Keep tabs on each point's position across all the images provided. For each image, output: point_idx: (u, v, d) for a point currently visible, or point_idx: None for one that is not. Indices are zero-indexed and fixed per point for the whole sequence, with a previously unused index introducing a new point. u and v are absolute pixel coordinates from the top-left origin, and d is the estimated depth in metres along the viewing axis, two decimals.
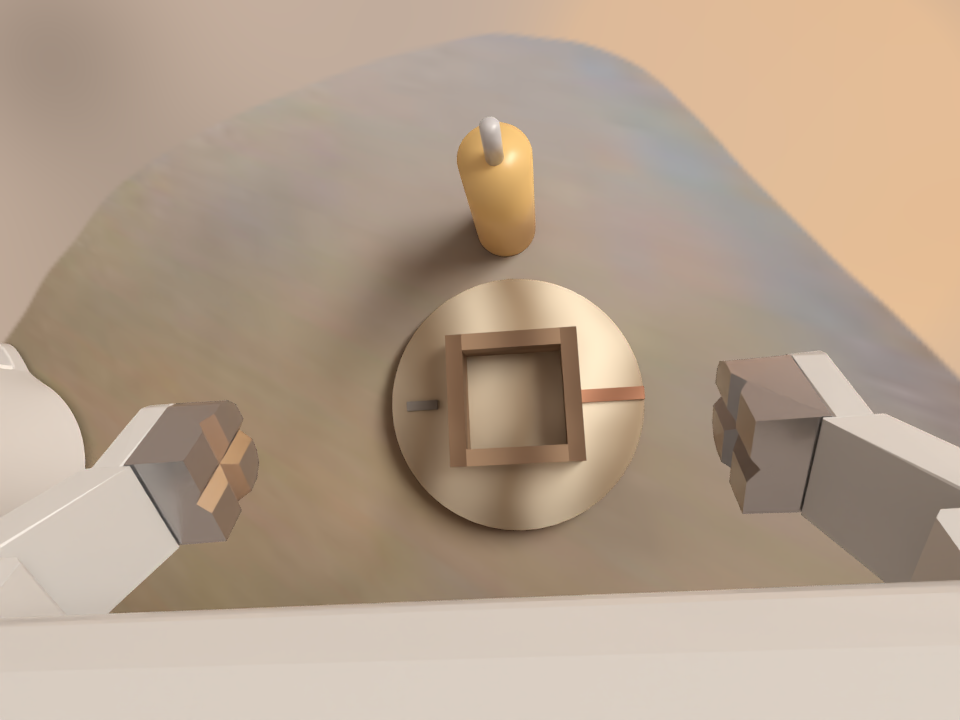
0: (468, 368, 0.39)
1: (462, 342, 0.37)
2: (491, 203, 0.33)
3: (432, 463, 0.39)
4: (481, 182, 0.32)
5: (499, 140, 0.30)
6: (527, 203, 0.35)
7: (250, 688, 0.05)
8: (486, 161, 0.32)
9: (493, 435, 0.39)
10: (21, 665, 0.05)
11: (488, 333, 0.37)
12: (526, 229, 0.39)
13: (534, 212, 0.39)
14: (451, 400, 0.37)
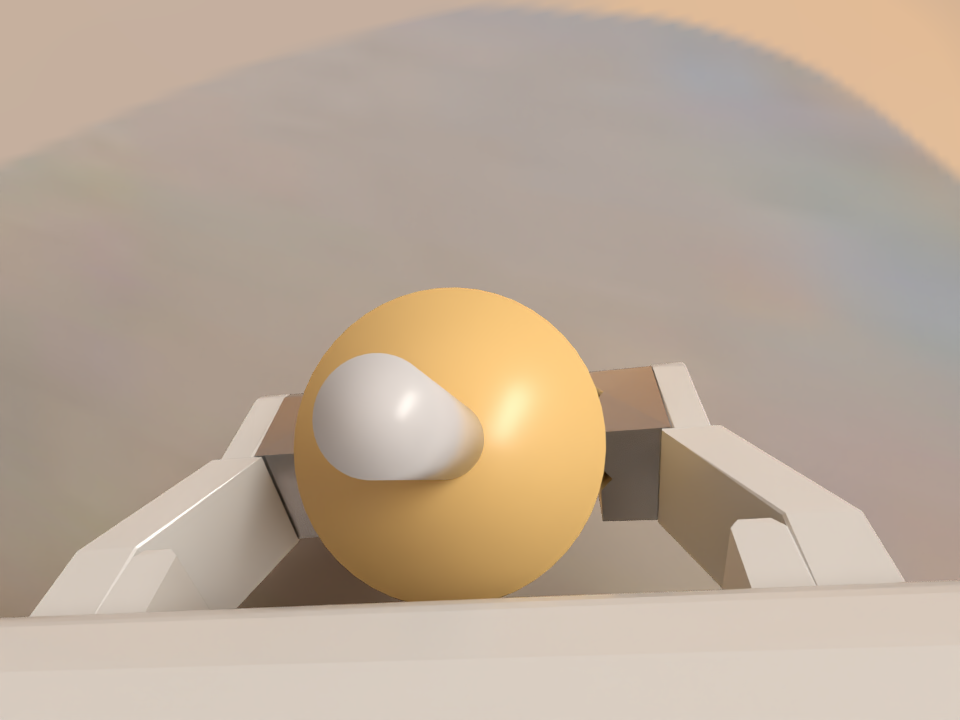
0: None
1: None
2: None
3: None
4: (390, 554, 0.08)
5: (447, 453, 0.06)
6: None
7: (250, 688, 0.05)
8: None
9: None
10: (21, 666, 0.05)
11: None
12: None
13: None
14: None
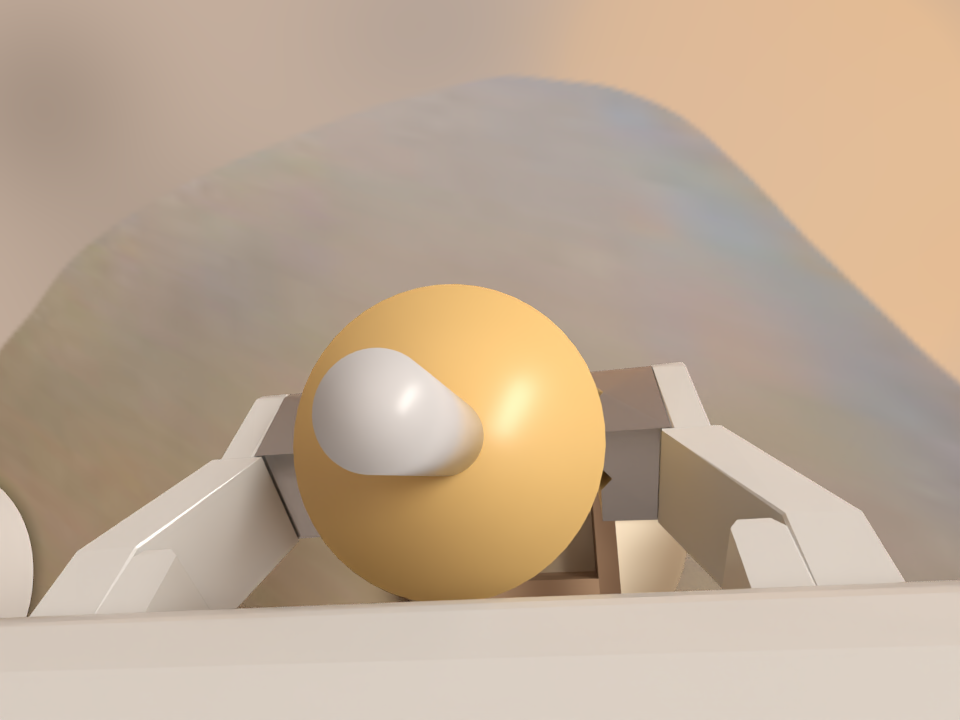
0: None
1: None
2: None
3: None
4: (389, 551, 0.08)
5: (446, 448, 0.06)
6: None
7: (250, 688, 0.05)
8: None
9: None
10: (20, 666, 0.05)
11: None
12: None
13: None
14: None
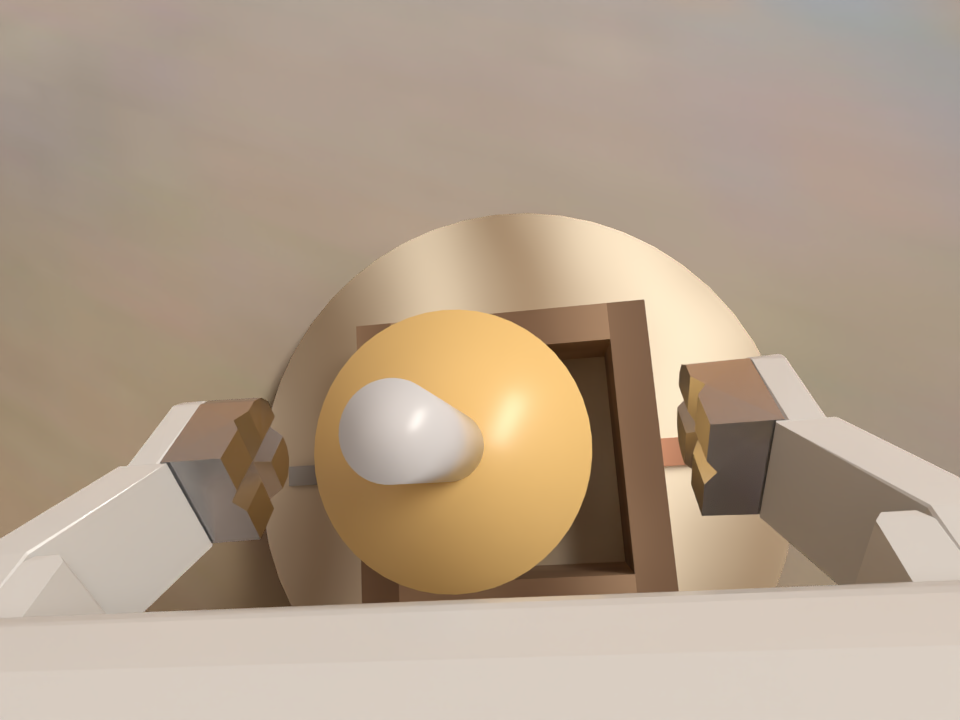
0: None
1: None
2: None
3: (339, 598, 0.18)
4: (400, 548, 0.08)
5: (451, 460, 0.06)
6: None
7: (250, 688, 0.05)
8: None
9: None
10: (20, 665, 0.05)
11: None
12: None
13: None
14: None
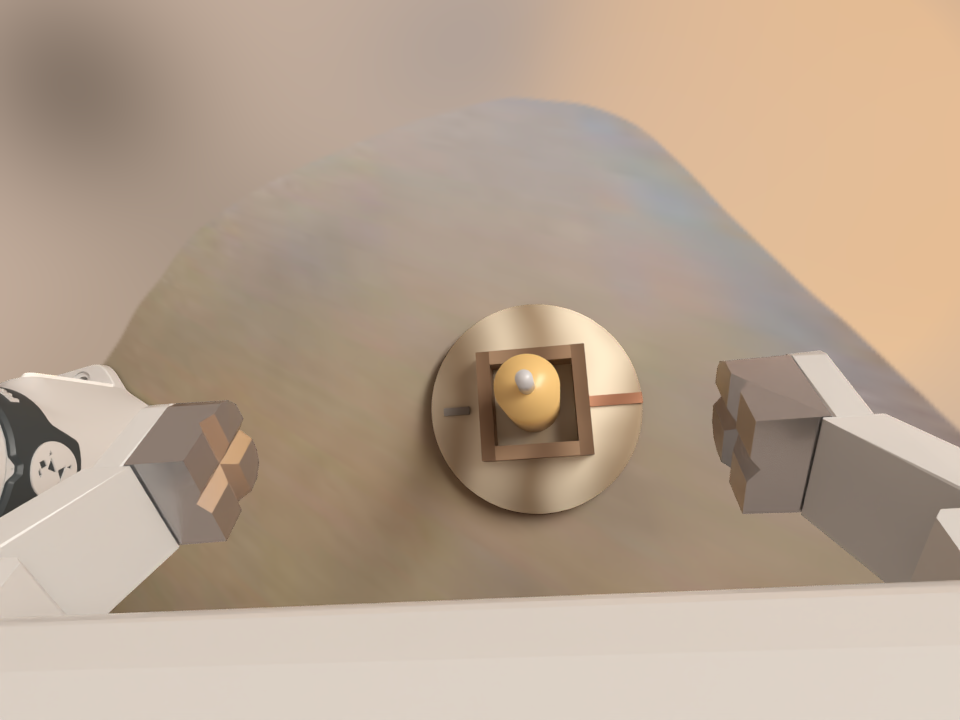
0: None
1: (490, 358, 0.45)
2: (524, 421, 0.38)
3: (466, 459, 0.46)
4: (515, 409, 0.37)
5: (532, 385, 0.35)
6: (555, 410, 0.40)
7: (250, 688, 0.05)
8: (519, 389, 0.37)
9: (516, 435, 0.46)
10: (21, 666, 0.05)
11: (511, 350, 0.45)
12: (553, 418, 0.43)
13: None
14: (481, 406, 0.45)
